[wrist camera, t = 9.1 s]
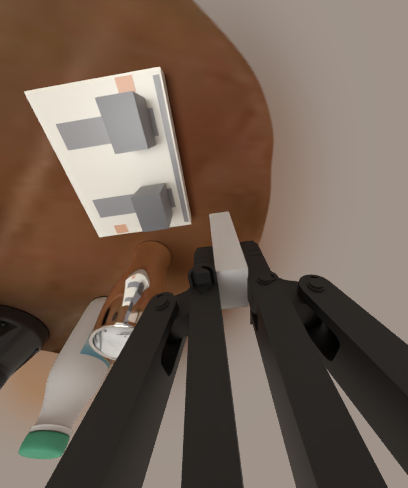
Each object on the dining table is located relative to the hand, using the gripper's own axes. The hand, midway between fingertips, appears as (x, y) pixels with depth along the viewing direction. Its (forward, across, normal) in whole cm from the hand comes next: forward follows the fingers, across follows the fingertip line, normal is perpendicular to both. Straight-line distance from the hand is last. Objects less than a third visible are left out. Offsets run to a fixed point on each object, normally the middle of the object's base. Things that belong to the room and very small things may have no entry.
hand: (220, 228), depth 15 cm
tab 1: (+9, -7, +8) cm, 14 cm away
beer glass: (+12, -11, -10) cm, 20 cm away
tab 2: (+9, -7, 0) cm, 12 cm away
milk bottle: (+12, -24, -22) cm, 34 cm away
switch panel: (+12, -10, +4) cm, 16 cm away
